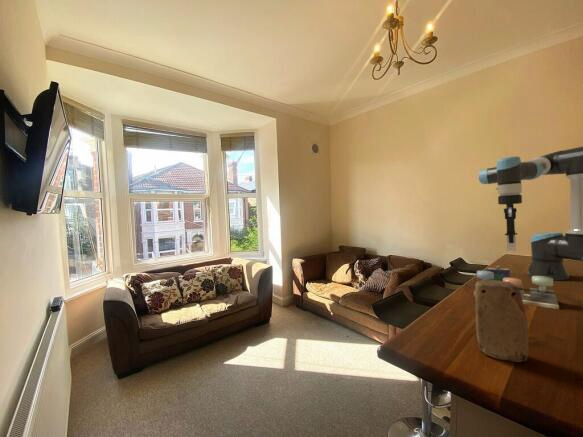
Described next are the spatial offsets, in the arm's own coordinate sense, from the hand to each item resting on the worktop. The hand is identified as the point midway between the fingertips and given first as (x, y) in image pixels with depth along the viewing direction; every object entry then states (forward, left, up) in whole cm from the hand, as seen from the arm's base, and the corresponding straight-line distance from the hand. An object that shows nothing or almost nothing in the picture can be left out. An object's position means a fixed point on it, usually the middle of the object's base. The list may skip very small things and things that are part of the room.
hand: (511, 250), depth 106 cm
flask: (-8, -13, -21) cm, 26 cm away
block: (+44, +29, -21) cm, 57 cm away
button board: (+1, 0, -21) cm, 21 cm away
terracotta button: (+1, 0, -18) cm, 18 cm away
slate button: (+6, -7, -16) cm, 19 cm away
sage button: (-5, +8, -16) cm, 19 cm away
